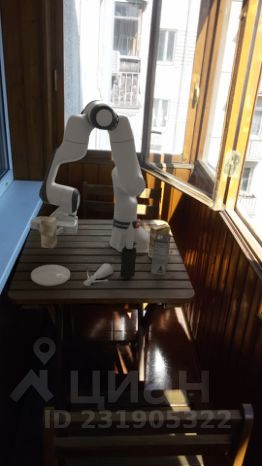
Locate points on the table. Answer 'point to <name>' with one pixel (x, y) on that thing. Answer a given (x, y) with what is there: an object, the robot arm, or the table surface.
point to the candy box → (153, 231)
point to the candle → (128, 255)
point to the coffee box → (160, 253)
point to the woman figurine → (99, 274)
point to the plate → (50, 275)
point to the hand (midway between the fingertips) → (48, 232)
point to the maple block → (48, 232)
